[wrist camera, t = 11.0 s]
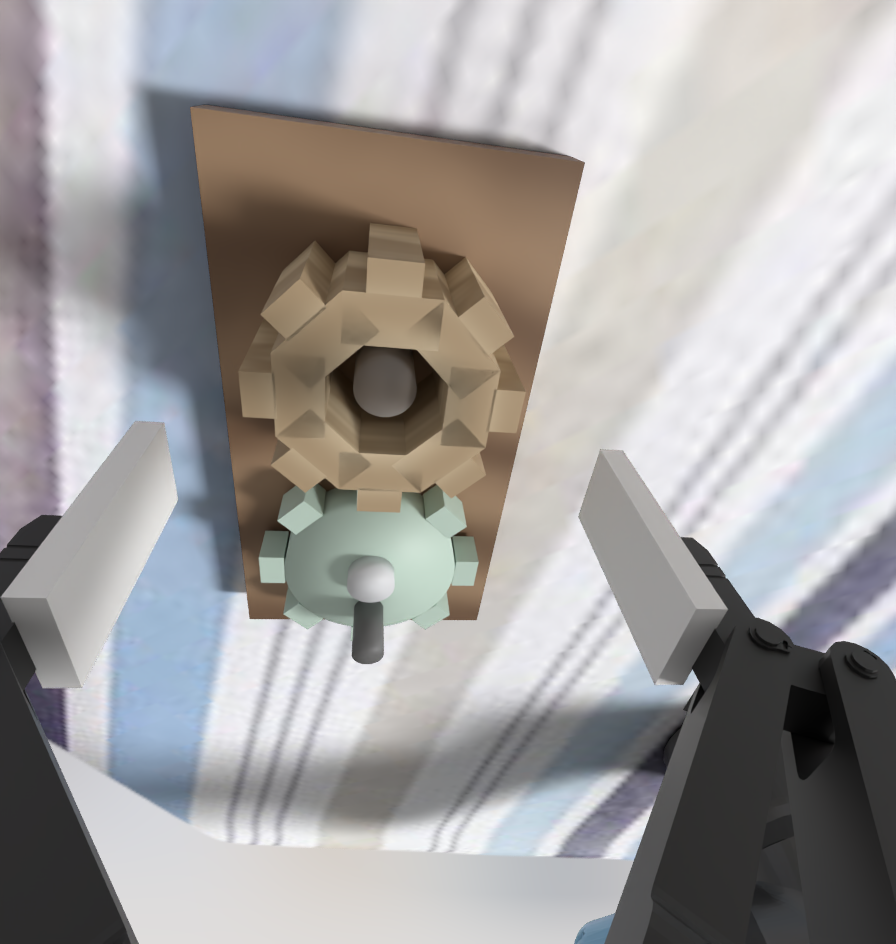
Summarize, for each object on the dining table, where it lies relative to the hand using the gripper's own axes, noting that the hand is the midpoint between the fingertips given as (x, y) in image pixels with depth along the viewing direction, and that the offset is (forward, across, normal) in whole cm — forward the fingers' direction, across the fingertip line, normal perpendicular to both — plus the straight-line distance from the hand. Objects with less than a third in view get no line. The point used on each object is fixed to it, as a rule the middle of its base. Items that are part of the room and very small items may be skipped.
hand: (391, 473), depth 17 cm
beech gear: (+9, 0, 0) cm, 9 cm away
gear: (+9, 0, +11) cm, 14 cm away
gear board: (+11, 0, +4) cm, 12 cm away
